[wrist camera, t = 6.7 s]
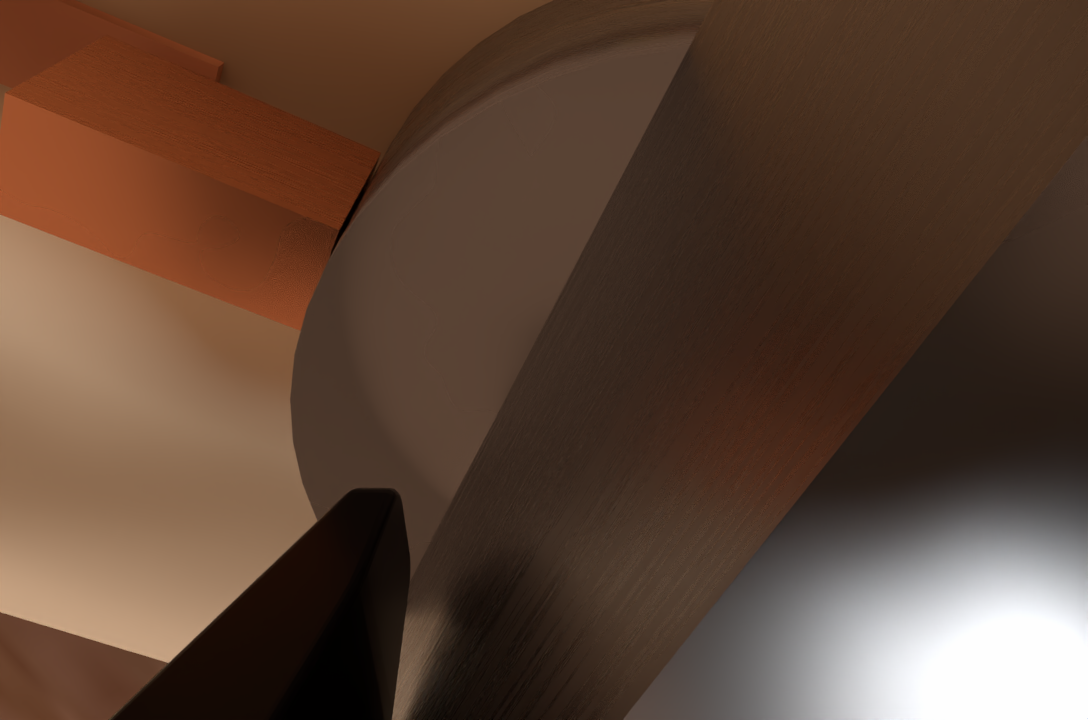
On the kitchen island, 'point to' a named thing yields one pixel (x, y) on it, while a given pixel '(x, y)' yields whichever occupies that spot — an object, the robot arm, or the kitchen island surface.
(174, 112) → the coupling
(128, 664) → the kitchen island surface
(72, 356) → the beige square board
